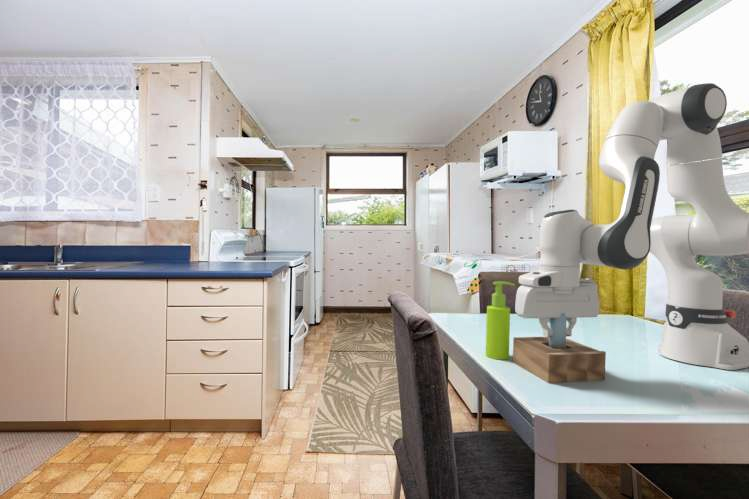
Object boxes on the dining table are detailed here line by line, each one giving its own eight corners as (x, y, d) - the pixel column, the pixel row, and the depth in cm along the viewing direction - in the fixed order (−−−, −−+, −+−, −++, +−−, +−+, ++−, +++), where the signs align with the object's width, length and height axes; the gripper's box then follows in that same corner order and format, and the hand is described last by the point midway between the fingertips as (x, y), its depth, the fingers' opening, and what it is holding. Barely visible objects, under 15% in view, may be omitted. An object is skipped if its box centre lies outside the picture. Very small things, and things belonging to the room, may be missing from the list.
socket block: (562, 360, 95) (562, 336, 95) (604, 380, 81) (605, 351, 81) (512, 362, 93) (513, 337, 93) (548, 382, 79) (549, 353, 79)
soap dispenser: (514, 360, 94) (516, 283, 94) (486, 358, 95) (488, 282, 95) (511, 354, 100) (512, 281, 99) (484, 352, 101) (486, 280, 101)
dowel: (558, 351, 89) (559, 310, 89) (568, 355, 85) (570, 312, 85) (545, 351, 88) (546, 310, 88) (555, 356, 85) (556, 313, 85)
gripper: (587, 277, 92) (585, 332, 92) (512, 276, 88) (510, 333, 88) (607, 279, 85) (605, 338, 86) (527, 279, 82) (526, 340, 82)
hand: (556, 336), depth 87 cm, fingers closed on dowel, 3 cm apart
